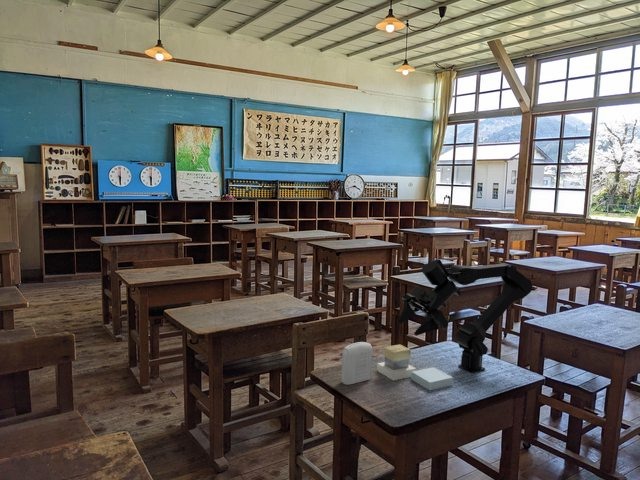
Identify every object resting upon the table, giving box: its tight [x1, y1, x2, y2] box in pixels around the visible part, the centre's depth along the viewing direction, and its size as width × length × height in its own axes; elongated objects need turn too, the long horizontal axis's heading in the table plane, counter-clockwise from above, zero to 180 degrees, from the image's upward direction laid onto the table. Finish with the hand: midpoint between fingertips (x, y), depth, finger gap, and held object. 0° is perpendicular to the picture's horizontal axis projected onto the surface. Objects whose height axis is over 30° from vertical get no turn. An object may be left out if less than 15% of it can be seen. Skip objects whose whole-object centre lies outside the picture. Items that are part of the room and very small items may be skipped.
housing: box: [383, 344, 412, 370], centre depth 158 cm, size 7×6×6 cm
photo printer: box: [341, 341, 373, 386], centre depth 152 cm, size 10×4×12 cm, turn 123°
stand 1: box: [376, 361, 417, 382], centre depth 159 cm, size 9×9×2 cm
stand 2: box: [410, 366, 454, 391], centre depth 152 cm, size 9×9×2 cm
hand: (406, 328), depth 153 cm, fingers open, 9 cm apart
